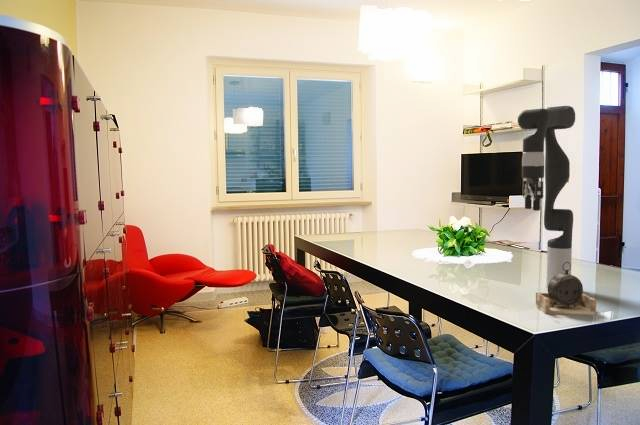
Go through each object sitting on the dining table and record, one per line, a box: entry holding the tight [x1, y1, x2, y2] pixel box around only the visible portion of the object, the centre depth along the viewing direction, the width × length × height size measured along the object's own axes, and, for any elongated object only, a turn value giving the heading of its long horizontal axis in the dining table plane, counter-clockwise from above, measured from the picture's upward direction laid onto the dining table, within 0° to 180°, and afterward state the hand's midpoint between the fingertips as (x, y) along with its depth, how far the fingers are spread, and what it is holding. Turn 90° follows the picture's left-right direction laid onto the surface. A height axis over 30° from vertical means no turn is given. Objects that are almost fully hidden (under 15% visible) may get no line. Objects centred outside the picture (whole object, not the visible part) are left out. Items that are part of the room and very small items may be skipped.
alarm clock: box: [547, 262, 584, 309], centre depth 175 cm, size 11×5×16 cm, turn 97°
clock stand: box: [535, 292, 597, 316], centre depth 176 cm, size 10×16×5 cm, turn 85°
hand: (532, 209), depth 184 cm, fingers open, 8 cm apart
